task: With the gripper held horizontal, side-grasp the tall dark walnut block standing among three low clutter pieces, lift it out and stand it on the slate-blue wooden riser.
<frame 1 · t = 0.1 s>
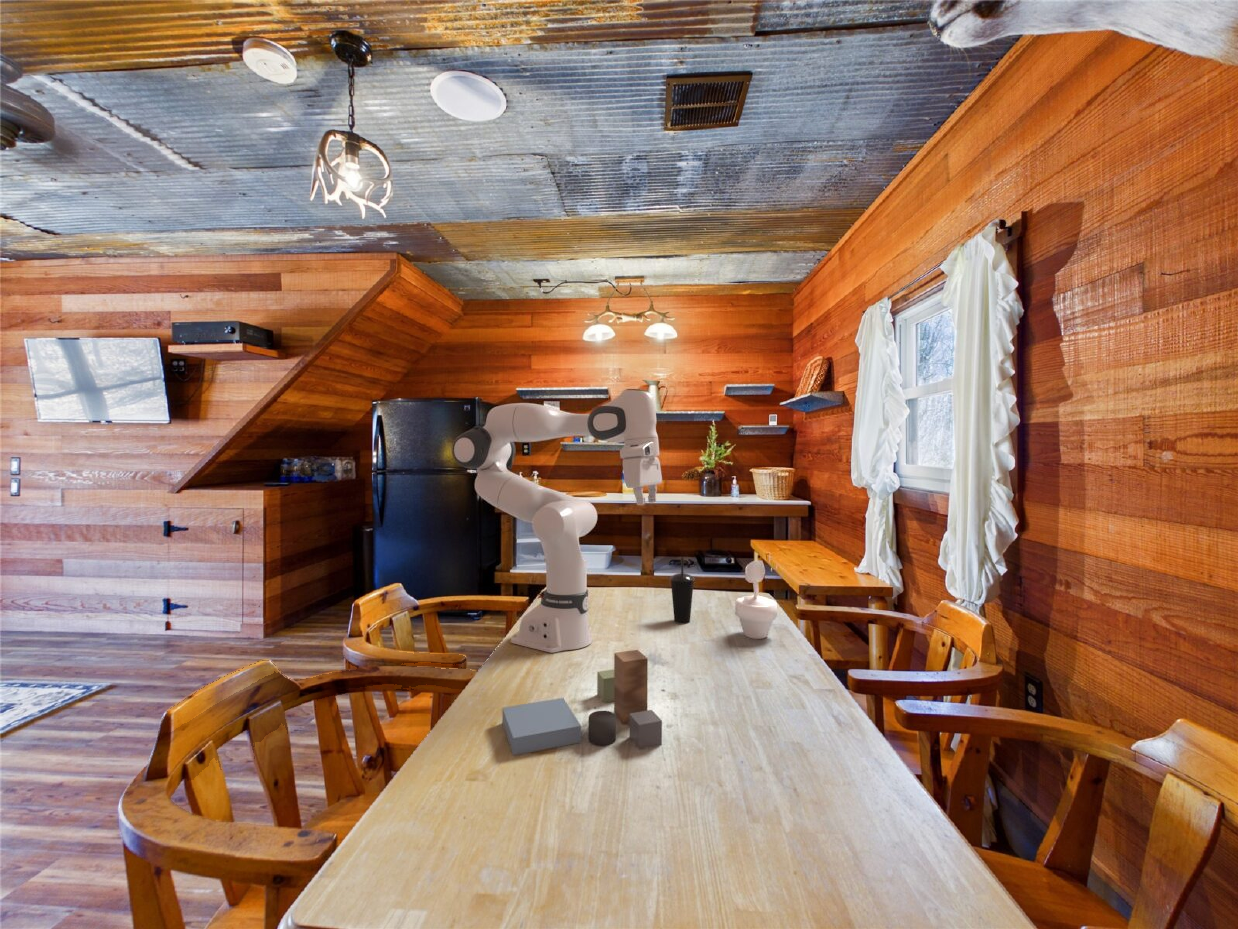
hand: (646, 503, 140), 39 cm above the table, tool pointing down, fingers open, 8 cm apart
drinking cup: (682, 621, 168), on the table
potted plant: (755, 635, 155), on the table
slate riser: (540, 732, 100), on the table
charcoal cylinder: (602, 739, 98), on the table
mauve grey cube: (645, 741, 97), on the table
olive block: (609, 697, 115), on the table
walnut block: (630, 716, 106), on the table
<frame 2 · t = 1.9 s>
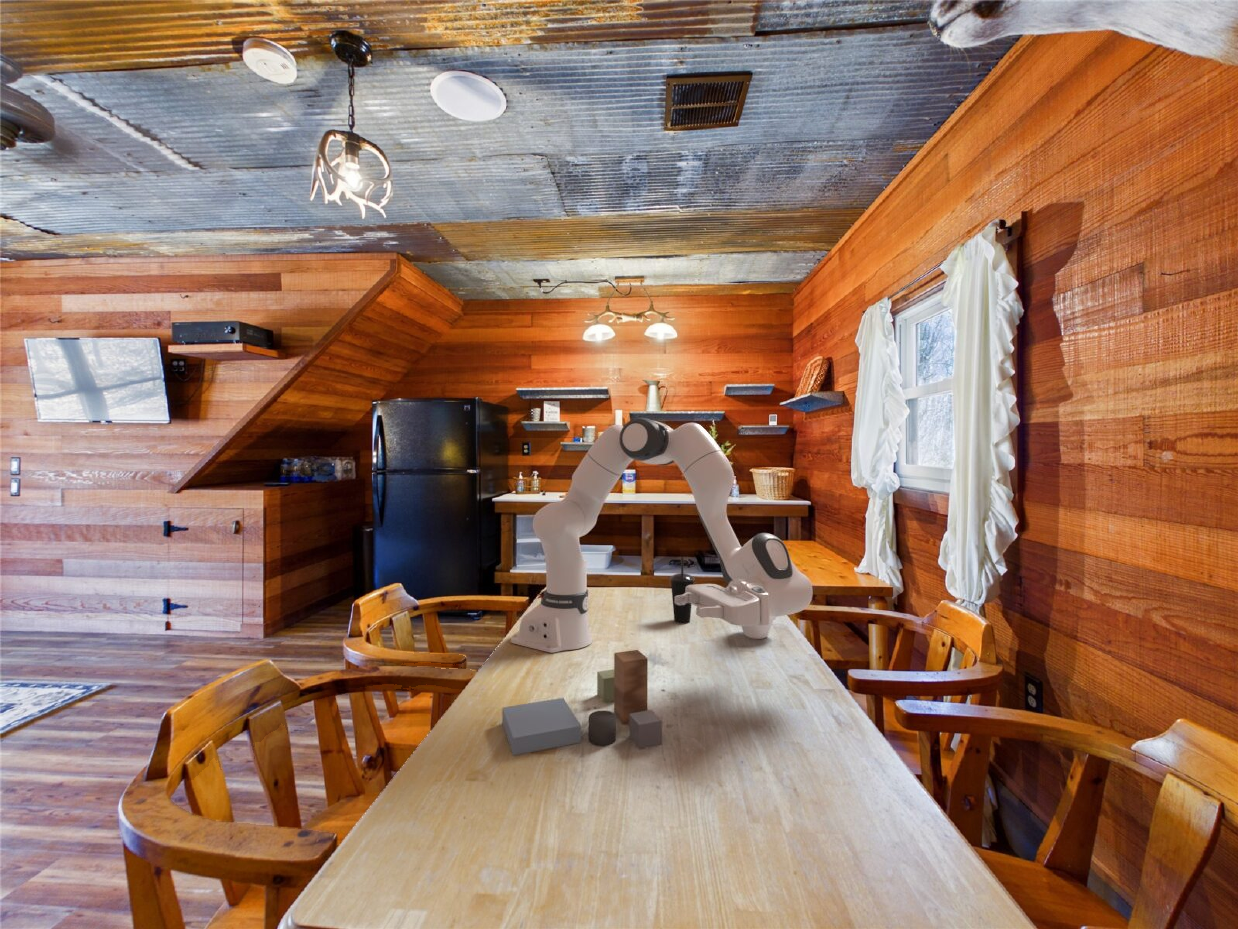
hand: (686, 606, 110), 21 cm above the table, tool horizontal, fingers open, 8 cm apart
nothing on the table moved.
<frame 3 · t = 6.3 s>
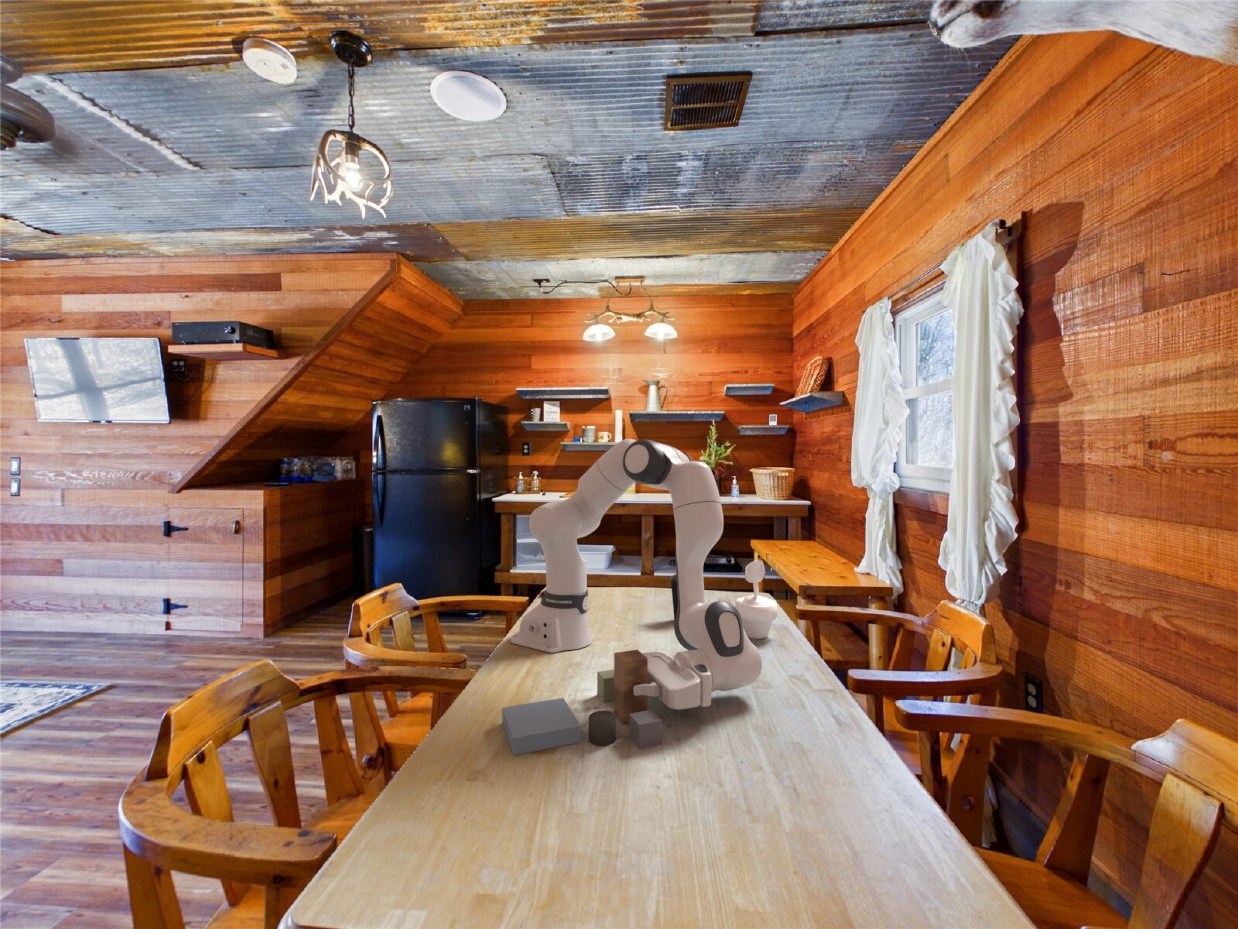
hand: (626, 683, 106), 7 cm above the table, tool horizontal, fingers closed on walnut block, 5 cm apart
walnut block: (630, 716, 106), on the table, touching gripper
everything else where it was.
when the fingers open (11 cm above the table, at t = 11.1 s): walnut block drops 1 cm, resting on slate riser.
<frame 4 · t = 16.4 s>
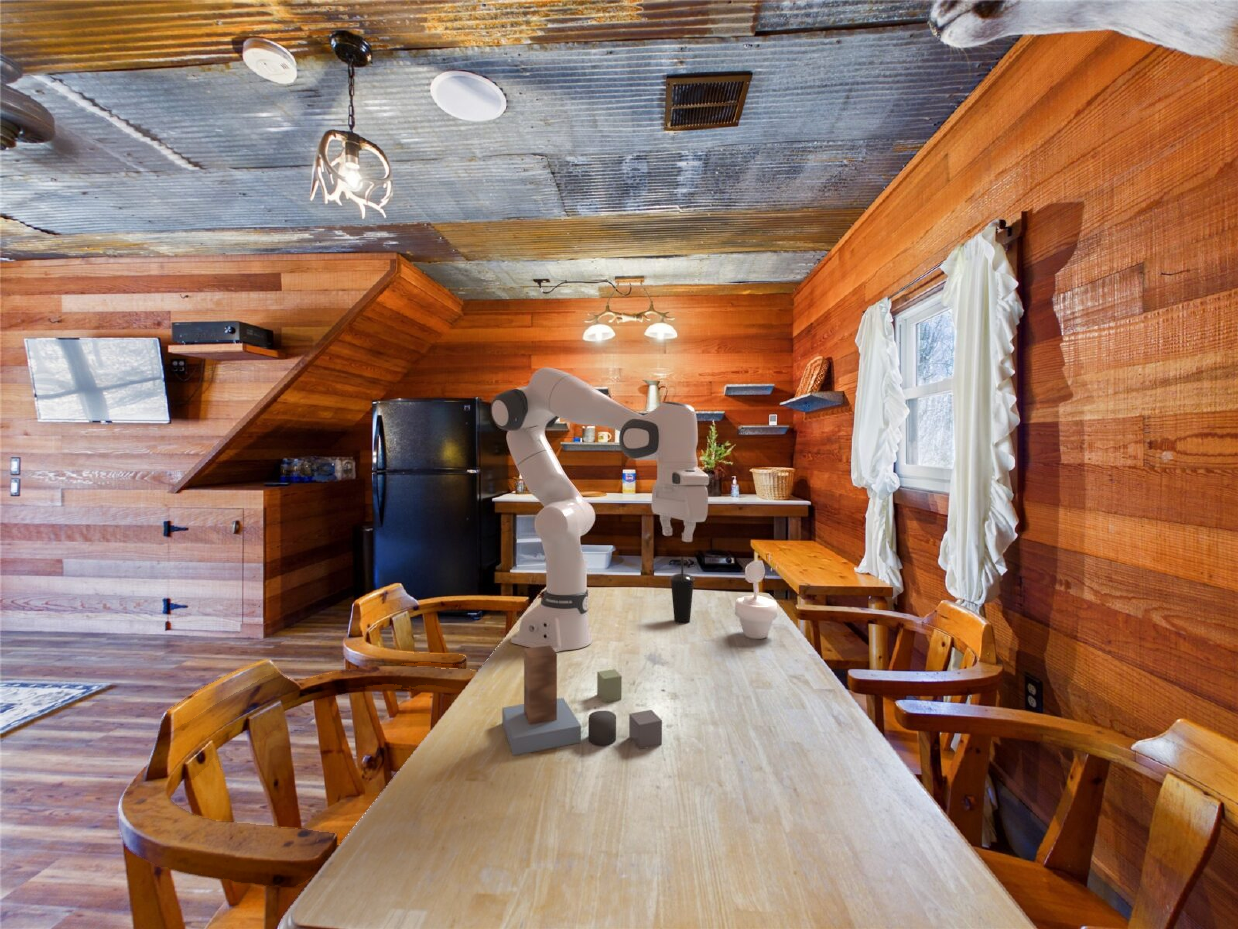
hand: (676, 538, 119), 33 cm above the table, tool pointing down, fingers open, 8 cm apart
walnut block: (540, 716, 100), point 3 cm above the table, touching slate riser
everything else where it was.
at the end: walnut block inside the target area on the slate riser (0.1 cm from its centre), point 3.0 cm above the slate riser's base; walnut block tilted 0°; the gripper is holding nothing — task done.
